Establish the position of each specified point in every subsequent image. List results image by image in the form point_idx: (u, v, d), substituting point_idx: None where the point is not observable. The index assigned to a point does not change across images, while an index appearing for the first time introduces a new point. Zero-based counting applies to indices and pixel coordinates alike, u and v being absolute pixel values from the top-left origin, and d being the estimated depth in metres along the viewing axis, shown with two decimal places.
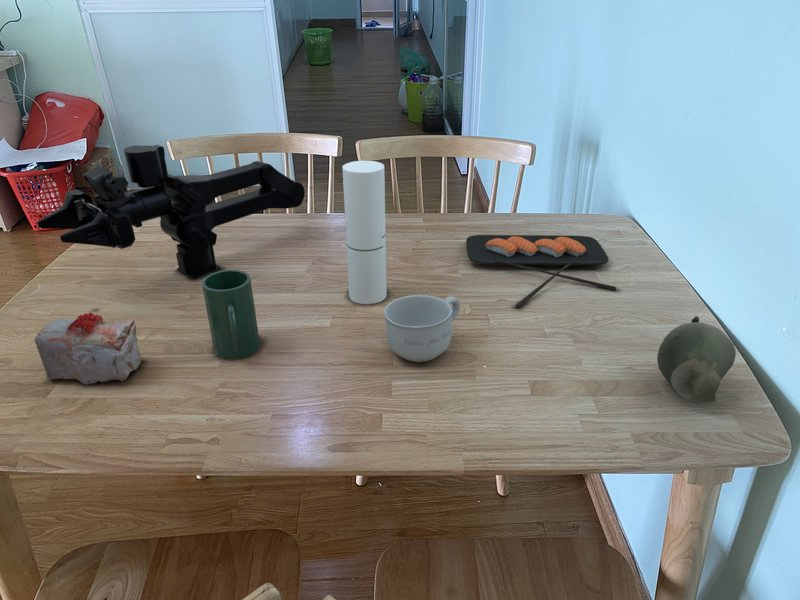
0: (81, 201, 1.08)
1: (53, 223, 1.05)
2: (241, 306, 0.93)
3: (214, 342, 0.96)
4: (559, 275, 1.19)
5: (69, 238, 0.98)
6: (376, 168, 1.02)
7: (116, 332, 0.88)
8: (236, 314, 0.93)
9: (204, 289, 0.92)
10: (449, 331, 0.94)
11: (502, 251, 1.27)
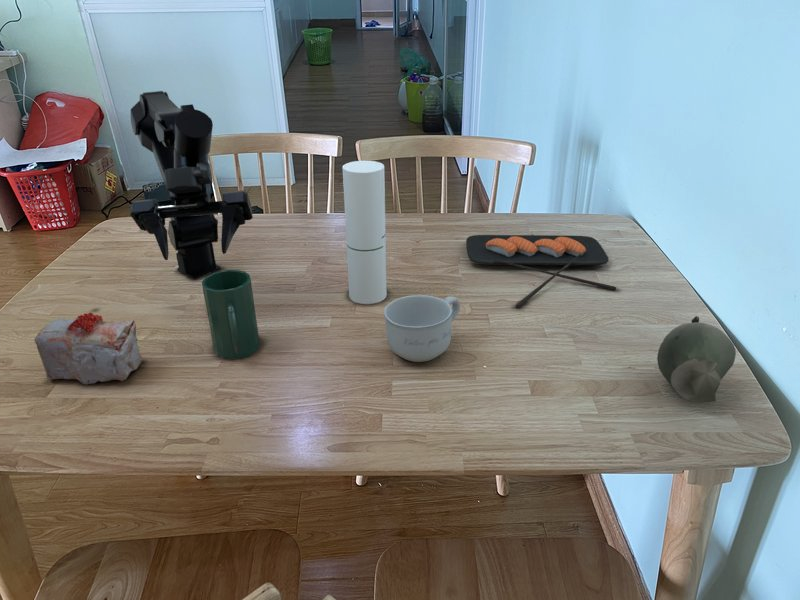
0: (156, 209, 0.98)
1: (165, 246, 0.99)
2: (241, 306, 0.93)
3: (214, 342, 0.96)
4: (559, 275, 1.19)
5: (226, 246, 0.99)
6: (376, 168, 1.02)
7: (116, 332, 0.88)
8: (236, 314, 0.93)
9: (204, 289, 0.92)
10: (449, 331, 0.94)
11: (502, 251, 1.27)
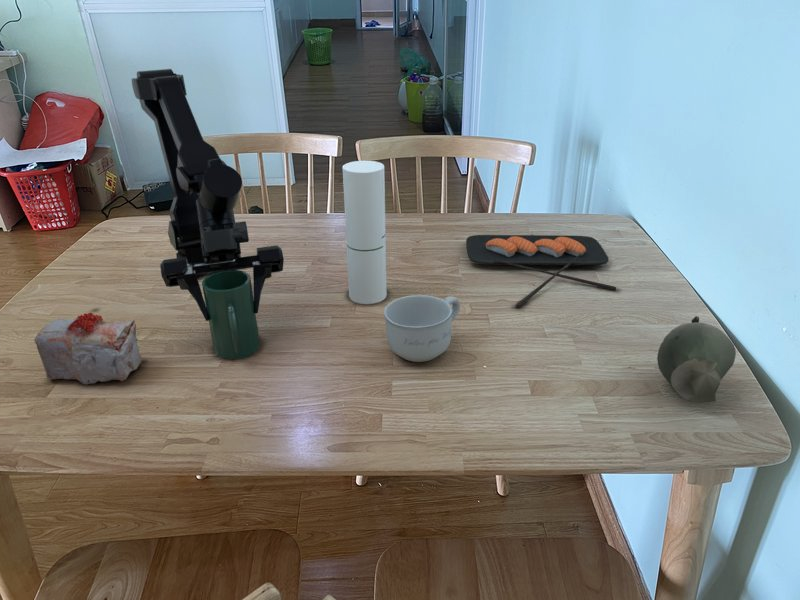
0: (192, 267, 0.94)
1: None
2: (241, 306, 0.93)
3: (214, 342, 0.96)
4: (559, 275, 1.19)
5: None
6: (376, 168, 1.02)
7: (116, 332, 0.88)
8: (236, 314, 0.93)
9: (204, 289, 0.92)
10: (449, 331, 0.94)
11: (502, 252, 1.27)
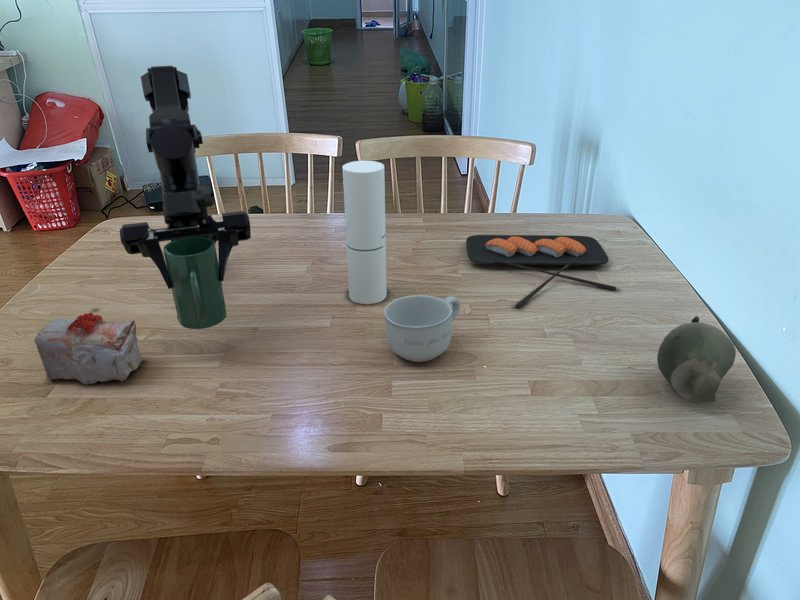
0: (154, 233, 0.90)
1: None
2: (205, 272, 0.89)
3: (178, 311, 0.92)
4: (559, 275, 1.19)
5: (224, 273, 0.93)
6: (376, 168, 1.02)
7: (116, 332, 0.88)
8: (199, 281, 0.89)
9: (165, 255, 0.88)
10: (449, 331, 0.94)
11: (502, 252, 1.27)
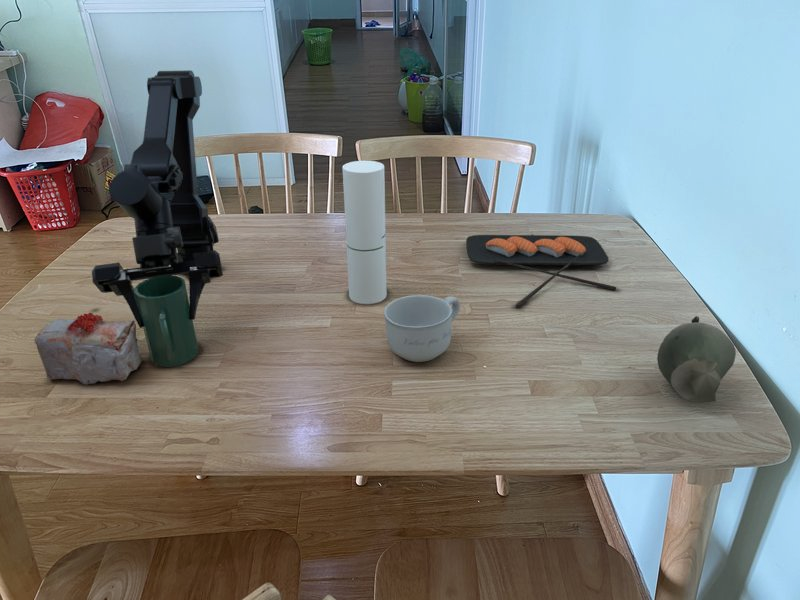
0: (126, 273, 0.92)
1: None
2: (175, 313, 0.91)
3: (149, 349, 0.94)
4: (559, 275, 1.19)
5: (195, 311, 0.95)
6: (376, 168, 1.02)
7: (116, 332, 0.88)
8: (169, 321, 0.91)
9: (136, 296, 0.90)
10: (449, 331, 0.94)
11: (502, 251, 1.27)
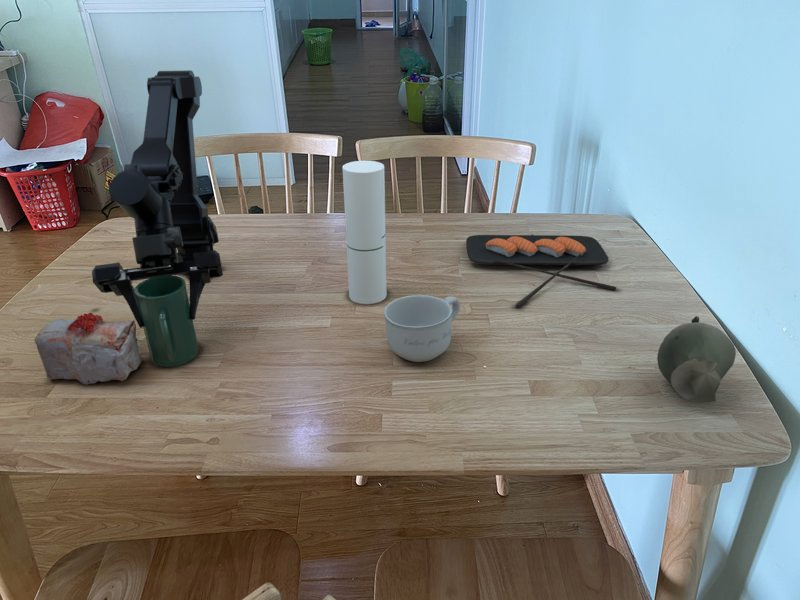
0: (126, 273, 0.92)
1: None
2: (175, 313, 0.91)
3: (150, 349, 0.94)
4: (559, 275, 1.19)
5: (195, 311, 0.95)
6: (376, 168, 1.02)
7: (116, 332, 0.88)
8: (170, 321, 0.91)
9: (136, 296, 0.90)
10: (449, 331, 0.94)
11: (502, 251, 1.27)
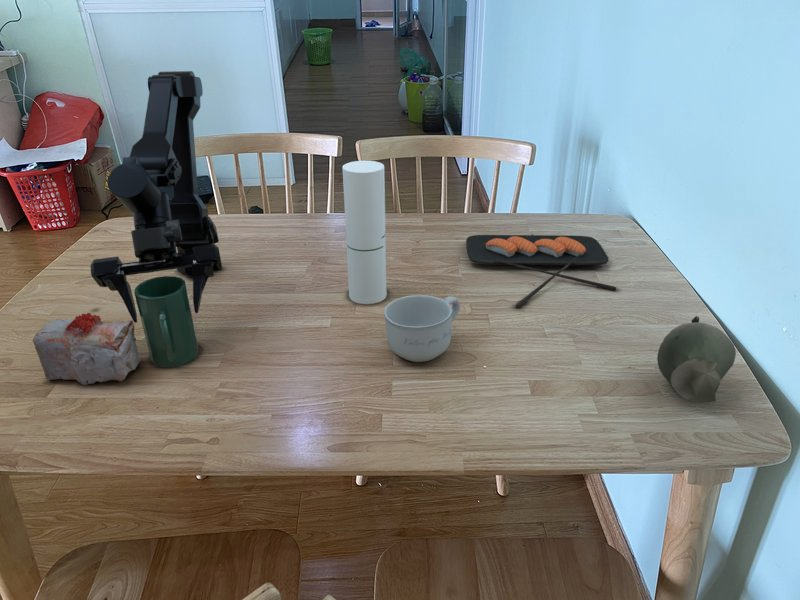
0: (120, 268, 0.92)
1: (133, 307, 0.93)
2: (175, 313, 0.91)
3: (150, 350, 0.94)
4: (559, 275, 1.19)
5: (198, 305, 0.94)
6: (376, 168, 1.02)
7: (114, 332, 0.88)
8: (170, 322, 0.91)
9: (136, 296, 0.90)
10: (449, 331, 0.94)
11: (502, 252, 1.27)
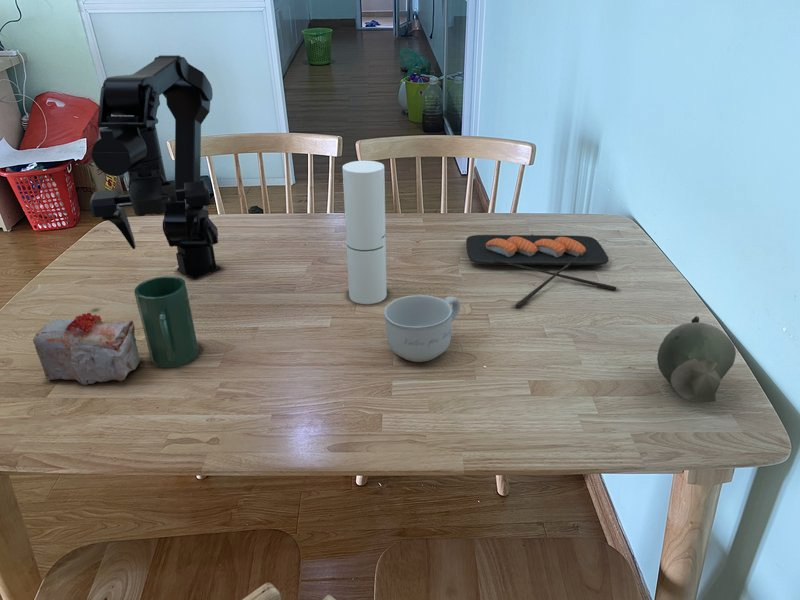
0: (116, 207, 1.00)
1: (130, 233, 1.04)
2: (175, 313, 0.91)
3: (150, 350, 0.94)
4: (559, 275, 1.19)
5: None
6: (376, 168, 1.02)
7: (114, 332, 0.88)
8: (170, 322, 0.91)
9: (136, 296, 0.90)
10: (449, 331, 0.94)
11: (502, 251, 1.27)
